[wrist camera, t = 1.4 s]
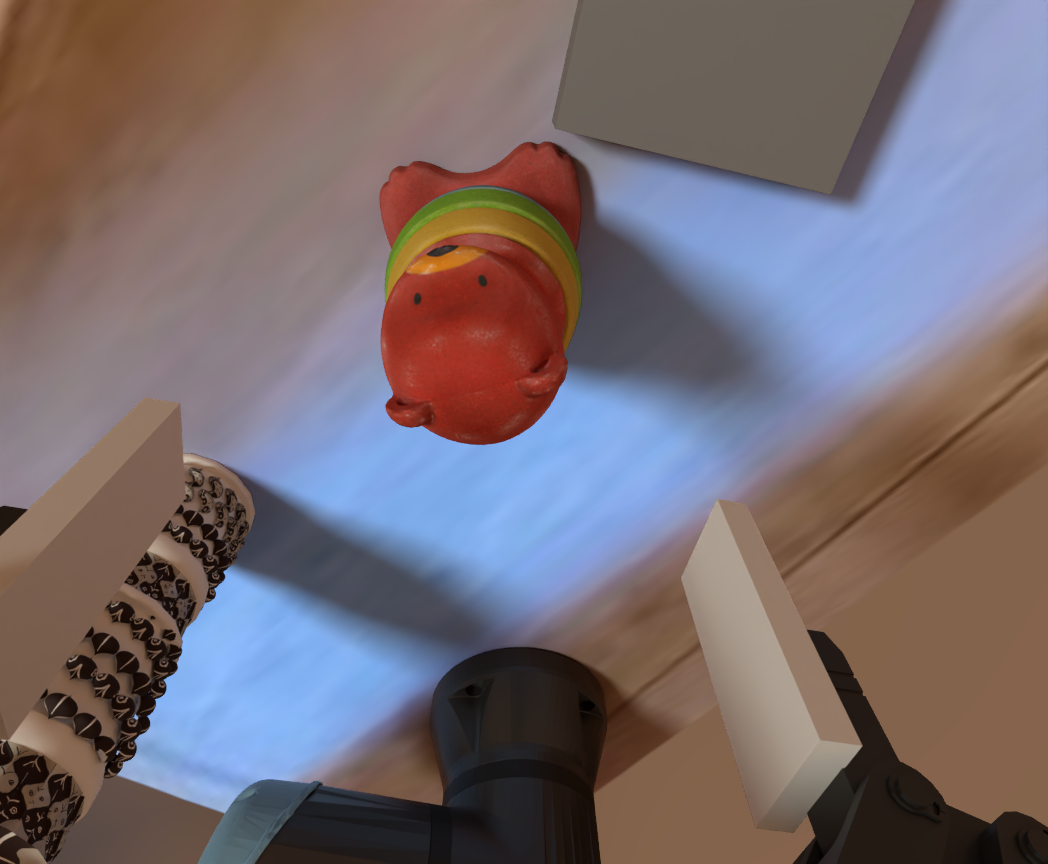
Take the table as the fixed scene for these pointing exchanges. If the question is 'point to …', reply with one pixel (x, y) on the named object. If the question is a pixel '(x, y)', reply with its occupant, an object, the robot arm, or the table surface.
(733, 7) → the gray block
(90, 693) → the decorative candle
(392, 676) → the table surface
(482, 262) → the stacking bear
